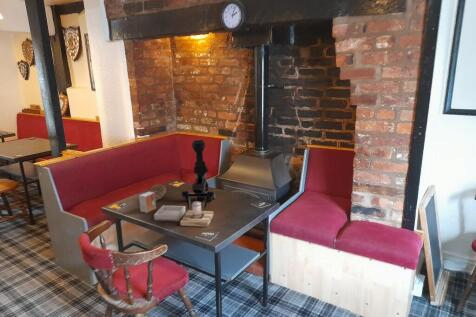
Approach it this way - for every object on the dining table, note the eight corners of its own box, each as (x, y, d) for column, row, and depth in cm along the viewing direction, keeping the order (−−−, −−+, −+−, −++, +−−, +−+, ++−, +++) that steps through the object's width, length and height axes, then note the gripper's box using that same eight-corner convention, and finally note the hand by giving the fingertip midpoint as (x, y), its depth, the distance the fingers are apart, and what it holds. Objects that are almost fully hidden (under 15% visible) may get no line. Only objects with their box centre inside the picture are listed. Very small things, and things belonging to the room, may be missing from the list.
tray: (163, 210, 206) (162, 205, 206) (185, 211, 205) (185, 206, 204) (154, 220, 193) (154, 214, 192) (178, 221, 191) (178, 215, 190)
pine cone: (159, 195, 234) (157, 181, 231) (170, 197, 229) (169, 183, 227) (135, 206, 215) (134, 191, 213) (146, 208, 211) (145, 193, 208)
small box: (146, 213, 204) (145, 196, 201) (140, 211, 206) (138, 195, 204) (156, 208, 210) (155, 192, 208) (149, 207, 213) (148, 191, 211)
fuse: (194, 218, 195) (193, 201, 192) (202, 218, 194) (202, 201, 191) (192, 222, 190) (190, 204, 187) (200, 222, 189) (199, 204, 187)
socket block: (188, 214, 200) (188, 210, 200) (213, 215, 198) (213, 211, 197) (180, 225, 186) (180, 221, 185) (207, 226, 184) (207, 222, 183)
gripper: (181, 177, 192) (176, 202, 184) (213, 177, 189) (210, 203, 181) (186, 186, 201) (181, 210, 193) (217, 186, 199) (213, 211, 191)
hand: (196, 209), depth 189 cm, fingers open, 9 cm apart
